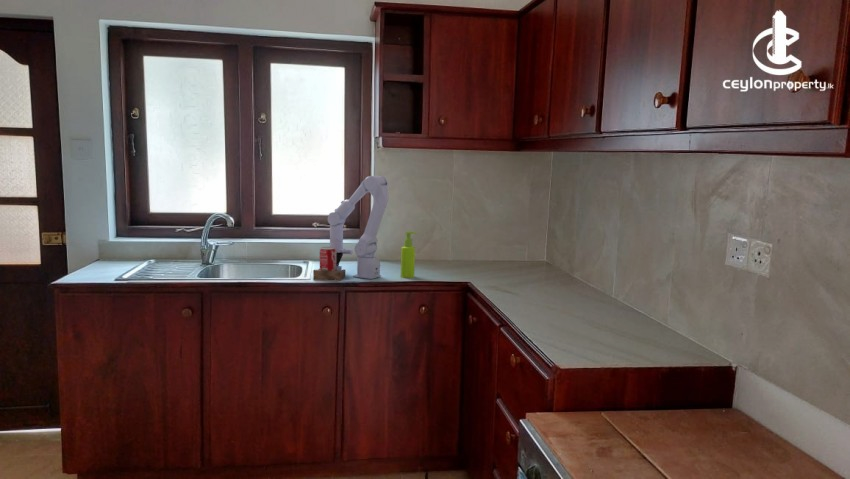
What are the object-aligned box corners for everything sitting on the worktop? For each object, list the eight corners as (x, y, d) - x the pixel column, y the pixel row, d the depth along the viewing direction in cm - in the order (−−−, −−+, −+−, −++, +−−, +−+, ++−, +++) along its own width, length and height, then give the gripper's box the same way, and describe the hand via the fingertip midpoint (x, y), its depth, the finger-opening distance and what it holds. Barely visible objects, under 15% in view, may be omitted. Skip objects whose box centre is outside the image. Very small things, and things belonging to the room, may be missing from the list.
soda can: (334, 280, 247) (334, 249, 245) (317, 279, 247) (317, 248, 246) (338, 276, 254) (338, 247, 252) (321, 275, 254) (322, 246, 253)
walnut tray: (345, 276, 255) (345, 267, 254) (339, 280, 245) (340, 271, 245) (319, 275, 256) (319, 266, 256) (313, 279, 247) (313, 270, 246)
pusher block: (328, 272, 261) (328, 265, 261) (341, 273, 261) (341, 266, 260) (323, 276, 254) (323, 268, 254) (337, 276, 254) (337, 269, 253)
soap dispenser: (416, 278, 255) (417, 232, 252) (400, 278, 255) (401, 232, 252) (416, 275, 261) (417, 231, 258) (401, 275, 261) (402, 230, 258)
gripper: (354, 238, 263) (353, 268, 265) (322, 237, 265) (322, 266, 267) (350, 241, 256) (350, 271, 258) (318, 239, 258) (318, 269, 260)
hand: (335, 269), depth 262 cm, fingers closed, pressing on pusher block
